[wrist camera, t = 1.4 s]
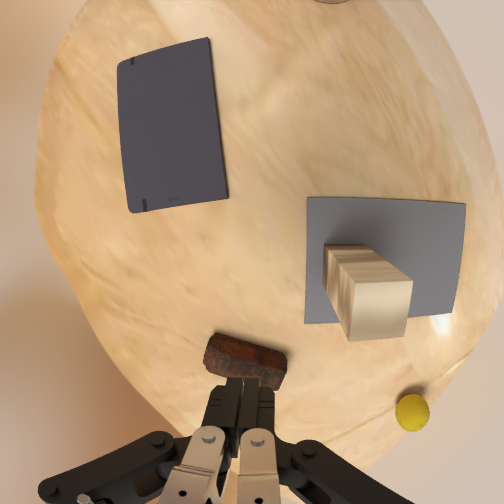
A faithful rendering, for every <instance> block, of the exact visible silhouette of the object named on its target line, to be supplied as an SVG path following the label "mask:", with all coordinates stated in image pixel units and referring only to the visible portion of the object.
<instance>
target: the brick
mask: <svg viewBox="0 0 504 504" xmlns="http://www.w3.org/2000/svg"><path fill="white" fill-rule="evenodd" d="M203 364H204V365H205V366H206V369H207V370H208V371H209V372H211V373H213V374H216V375H219V376H222V377H226V378H227V377H228V376H241V377H243V383H244V382H245V377H260V387H271V388H272V390H273V391H277V390H279V388H280V386H281V383H282V381H283V379H284V376H285V374H286V373H287V358H286V357H285V355H283V354H282V353H280V352H276V351H272V350H269V349H266V348H264V347H261V346H257V345H254V344H251V343H247V342H244V341H241V340H238V339H234V338H231V337H228V336H225V335H222V334H215V335H214V336H211V337H210V339H209V342H208V344H207V347H206V351H205V354H204V359H203Z"/></svg>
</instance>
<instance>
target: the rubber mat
mask: <svg viewBox="0 0 504 504" xmlns="http://www.w3.org/2000/svg"><path fill="white" fill-rule="evenodd" d="M465 216H466V204H459V203H447V202H433V201H417V200H397V199H373V198H328V197H307V261H306V296H305V320H304V323H305V324H320V323H340V321H339V319H338V317H337V314H336V312H335V310H334V308H333V306H332V304H331V301H330V299H329V297H328V295H327V293H326V291H325V289H324V287H323V284H322V278H323V251H324V244H364V245H366V246H367V247H368V248H370V249H371V250H373V251H374V252H375V253H377V254H378V255H379V256H381V257H382V258H384V259H385V260H386V261H388V262H389V263H390V264H392V265H393V266H394V267H396V268H397V269H398V270H400V271H401V272H402V273H404V274H405V275H406V276H408V277H409V278H410V279H411V280H413V287H412V294H411V300H410V306H409V312H408V317H407V318H409V317H419V316H428V315H437V314H445V313H452V310H453V305H454V300H455V295H456V290H457V284H458V279H459V272H460V265H461V258H462V250H463V241H464V230H465Z"/></svg>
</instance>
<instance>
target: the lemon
mask: <svg viewBox="0 0 504 504" xmlns="http://www.w3.org/2000/svg"><path fill="white" fill-rule="evenodd" d="M395 414H396V419H397V421H398V423H399V424H400V426H401V427H402V428H403V429H405V430H407V431H411V432H414V431H418V430H420V429H422V428H423V427H424V426H425V425H426V423H427V422H428V419H429V415H430V411H429V407H428V404H427V402H426V401H425V400H424V399H423V398H422V397H421V396H419V395H416V394H410V395H407V396H405V397H403V398H402V399H401V400H400V401H399V403H398V404H397V407H396V412H395Z"/></svg>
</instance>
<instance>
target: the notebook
mask: <svg viewBox="0 0 504 504" xmlns="http://www.w3.org/2000/svg"><path fill="white" fill-rule="evenodd" d="M117 96H118V117H119V132H120V144H121V155H122V164H123V173H124V181H125V189H126V196H127V203H128V208H129V211H130V212H131V213H140V212H147V211H151V210H157V209H163V208H169V207H175V206H182V205H188V204H195V203H202V202H208V201H216V200H223V199H228V191H227V184H226V176H225V168H224V161H223V153H222V145H221V137H220V129H219V120H218V112H217V104H216V95H215V87H214V78H213V69H212V60H211V51H210V42H209V39H208V37H205V38H201V39H196V40H192V41H187V42H183V43H179V44H175V45H172V46H168V47H164V48H161V49H157V50H154V51H151V52H148V53H145V54H141V55H138V56H135V57H132V58H130V59H127V60H124V61H122V62H120V63H119V64H118V66H117Z"/></svg>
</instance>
